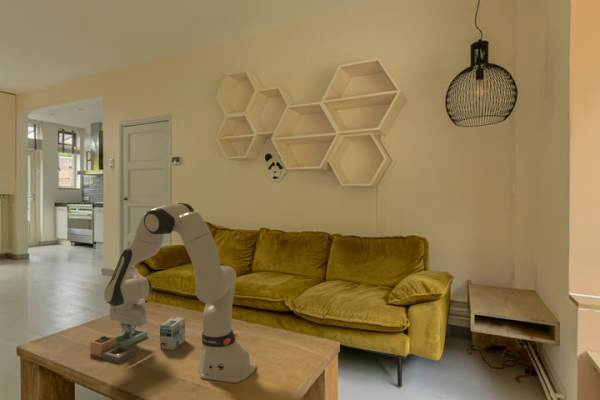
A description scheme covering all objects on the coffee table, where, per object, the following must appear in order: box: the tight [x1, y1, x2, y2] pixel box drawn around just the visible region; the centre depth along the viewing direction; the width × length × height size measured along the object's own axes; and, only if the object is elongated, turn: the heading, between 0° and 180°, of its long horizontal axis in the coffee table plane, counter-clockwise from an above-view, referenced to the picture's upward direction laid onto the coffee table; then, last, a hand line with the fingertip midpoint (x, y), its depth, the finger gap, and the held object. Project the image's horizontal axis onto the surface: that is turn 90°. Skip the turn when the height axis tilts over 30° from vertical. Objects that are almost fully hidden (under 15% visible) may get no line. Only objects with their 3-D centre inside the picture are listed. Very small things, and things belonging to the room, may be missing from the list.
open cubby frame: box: [89, 335, 116, 358], centre depth 143 cm, size 7×7×6 cm
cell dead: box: [99, 335, 108, 343], centre depth 143 cm, size 3×3×6 cm
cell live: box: [123, 324, 132, 339], centre depth 154 cm, size 3×3×6 cm
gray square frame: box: [101, 345, 137, 364], centre depth 139 cm, size 10×8×3 cm
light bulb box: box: [159, 316, 186, 351], centre depth 152 cm, size 11×7×11 cm, turn 168°
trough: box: [114, 328, 148, 347], centre depth 154 cm, size 8×14×3 cm, turn 157°
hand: (128, 332), depth 154 cm, fingers closed on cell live, 3 cm apart
